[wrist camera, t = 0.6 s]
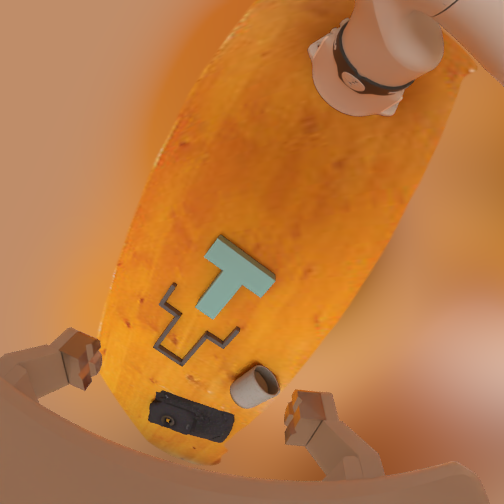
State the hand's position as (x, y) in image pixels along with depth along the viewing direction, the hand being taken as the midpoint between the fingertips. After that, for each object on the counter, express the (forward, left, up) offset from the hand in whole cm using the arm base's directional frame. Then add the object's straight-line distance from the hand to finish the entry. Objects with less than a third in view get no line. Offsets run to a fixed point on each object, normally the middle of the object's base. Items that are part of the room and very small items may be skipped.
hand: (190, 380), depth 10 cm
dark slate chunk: (+51, +19, -40) cm, 67 cm away
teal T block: (+12, +4, -39) cm, 41 cm away
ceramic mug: (+27, +23, -39) cm, 53 cm away
